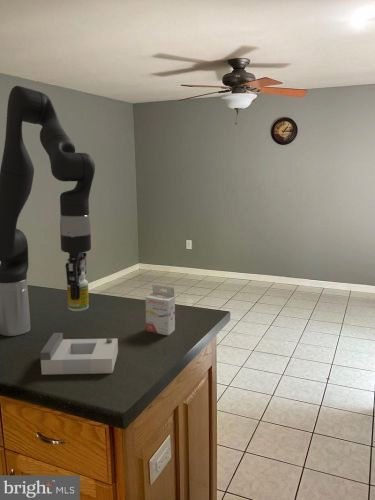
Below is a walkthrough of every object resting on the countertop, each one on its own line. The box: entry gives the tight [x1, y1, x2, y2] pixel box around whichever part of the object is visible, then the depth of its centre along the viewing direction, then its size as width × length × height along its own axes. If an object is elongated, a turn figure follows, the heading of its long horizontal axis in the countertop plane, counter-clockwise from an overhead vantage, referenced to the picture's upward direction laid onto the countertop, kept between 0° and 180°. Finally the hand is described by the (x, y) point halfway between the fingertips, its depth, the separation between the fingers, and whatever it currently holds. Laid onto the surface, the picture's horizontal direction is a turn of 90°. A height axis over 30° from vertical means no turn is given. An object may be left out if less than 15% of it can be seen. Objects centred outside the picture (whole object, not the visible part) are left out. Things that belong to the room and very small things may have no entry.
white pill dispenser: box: [39, 332, 119, 375], centre depth 114 cm, size 18×13×6 cm
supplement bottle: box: [66, 271, 90, 312], centre depth 111 cm, size 5×5×10 cm
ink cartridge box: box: [145, 284, 176, 336], centre depth 136 cm, size 9×5×15 cm, turn 65°
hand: (77, 295), depth 111 cm, fingers closed on supplement bottle, 5 cm apart
